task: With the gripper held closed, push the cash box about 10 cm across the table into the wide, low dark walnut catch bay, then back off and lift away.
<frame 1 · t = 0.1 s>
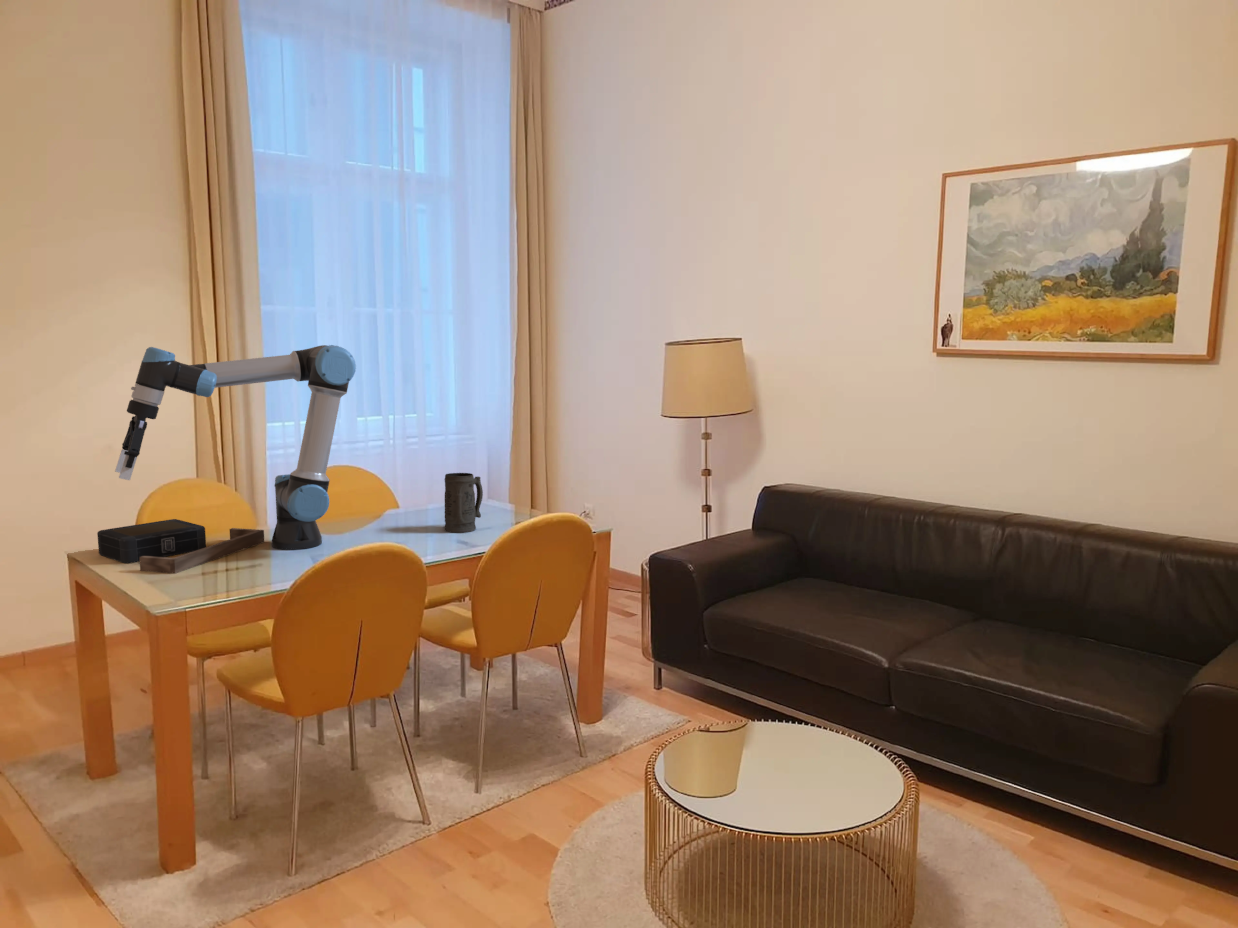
hand: (122, 476, 253), 28 cm above the table, tool tilted 20°, fingers open, 13 cm apart
cash box: (153, 553, 283), on the table
beer stein: (464, 529, 320), on the table
catch bay: (195, 554, 280), on the table
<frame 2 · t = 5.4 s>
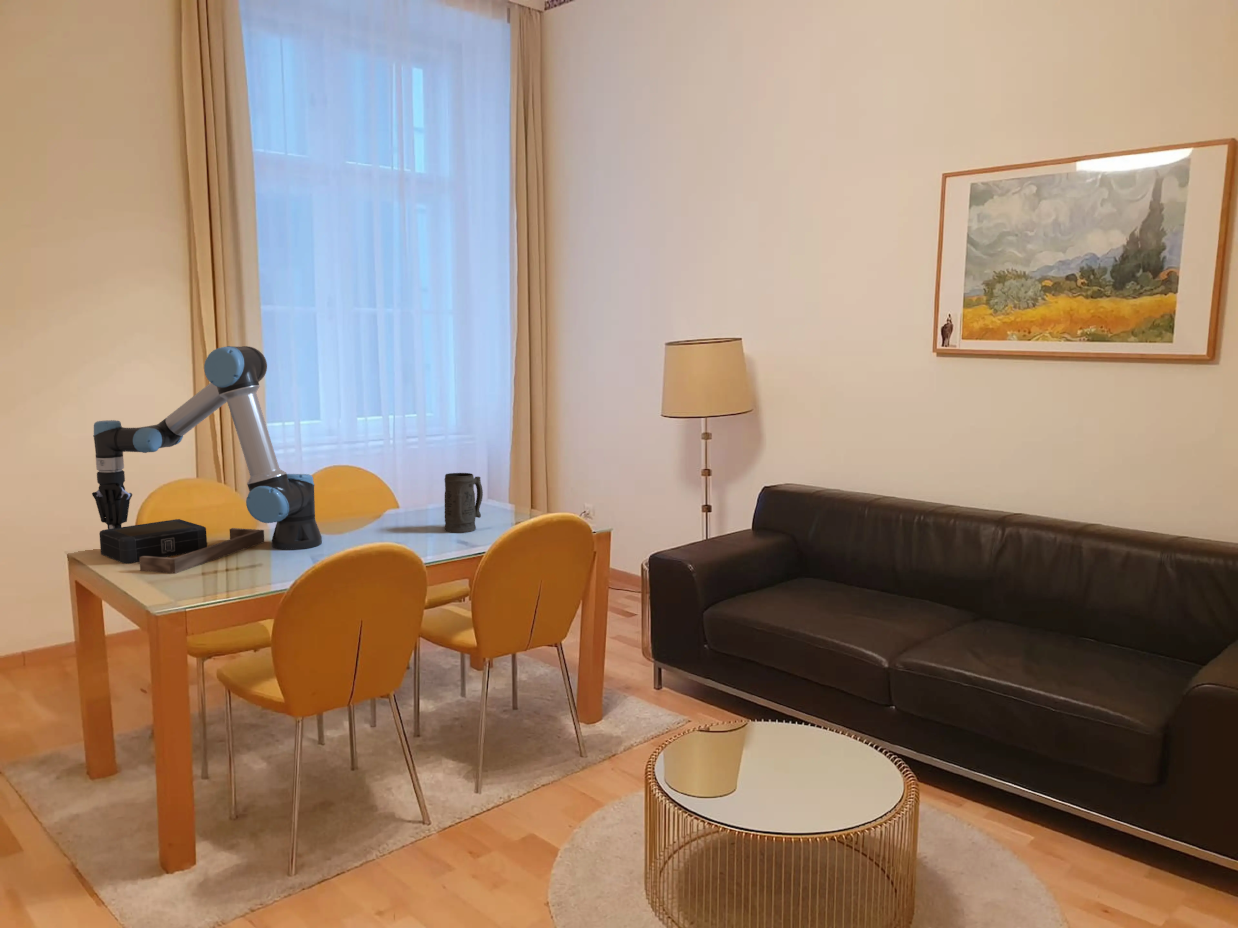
hand: (115, 544, 286), 1 cm above the table, tool pointing down, fingers closed
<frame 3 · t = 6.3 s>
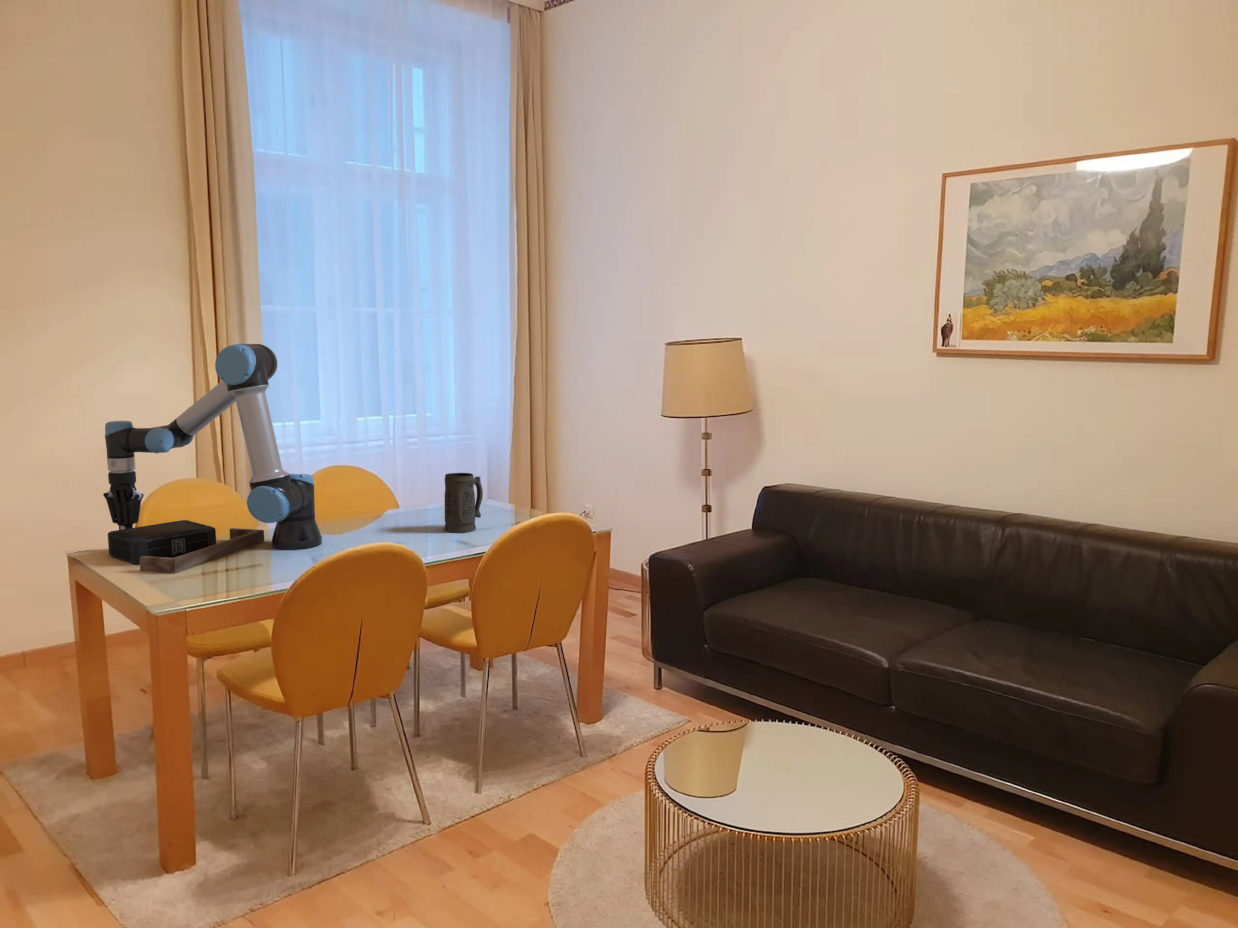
hand: (127, 545, 285), 1 cm above the table, tool pointing down, fingers closed
cash box: (164, 554, 282), on the table, touching gripper
everything else where it was.
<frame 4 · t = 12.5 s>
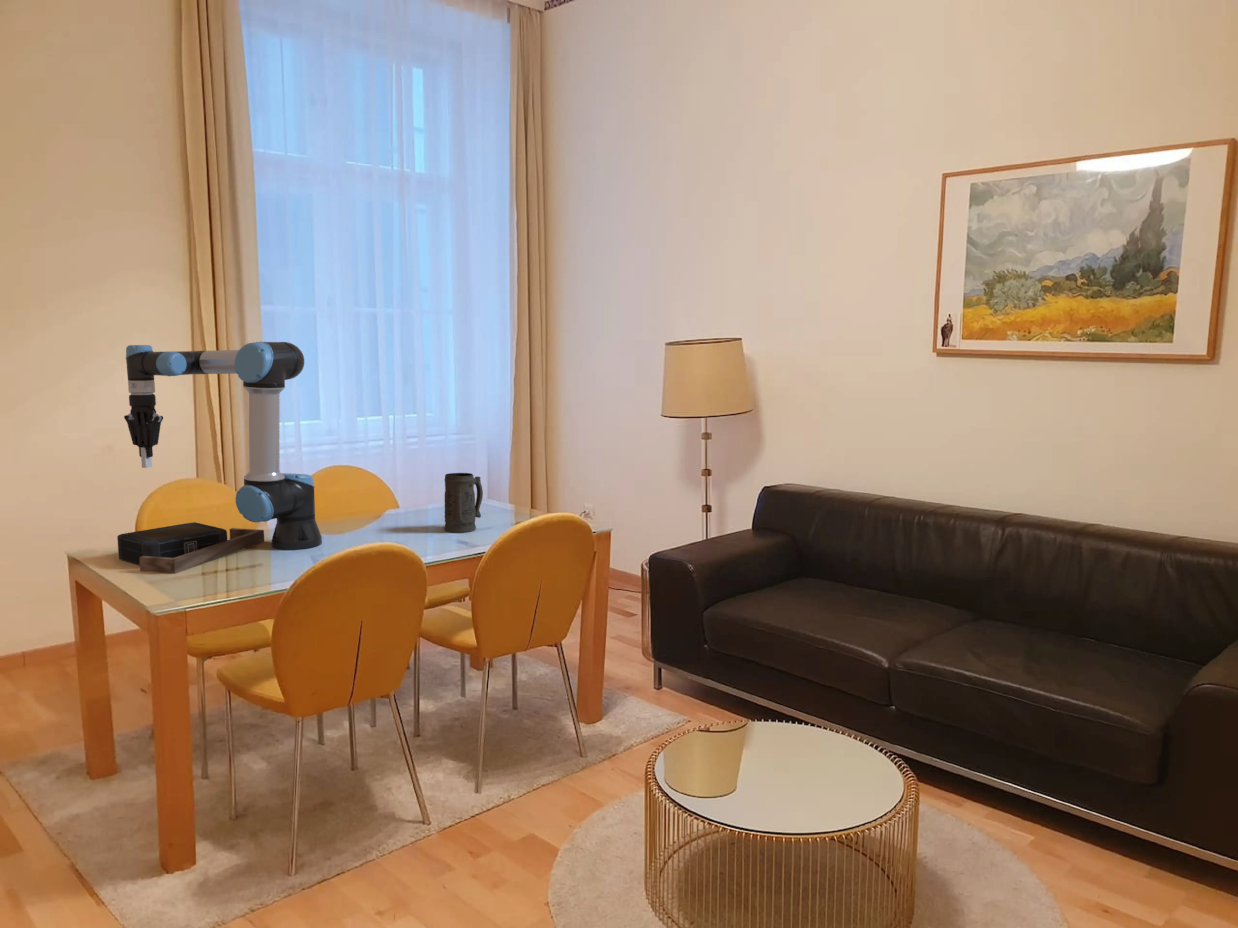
hand: (146, 467, 294), 24 cm above the table, tool pointing down, fingers closed
cash box: (174, 557, 278), on the table
everything else where it was.
at the end: cash box inside the target area (2.9 cm from its centre), on the table; cash box tilted 0°; cash box moved 10.2 cm from its start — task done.
